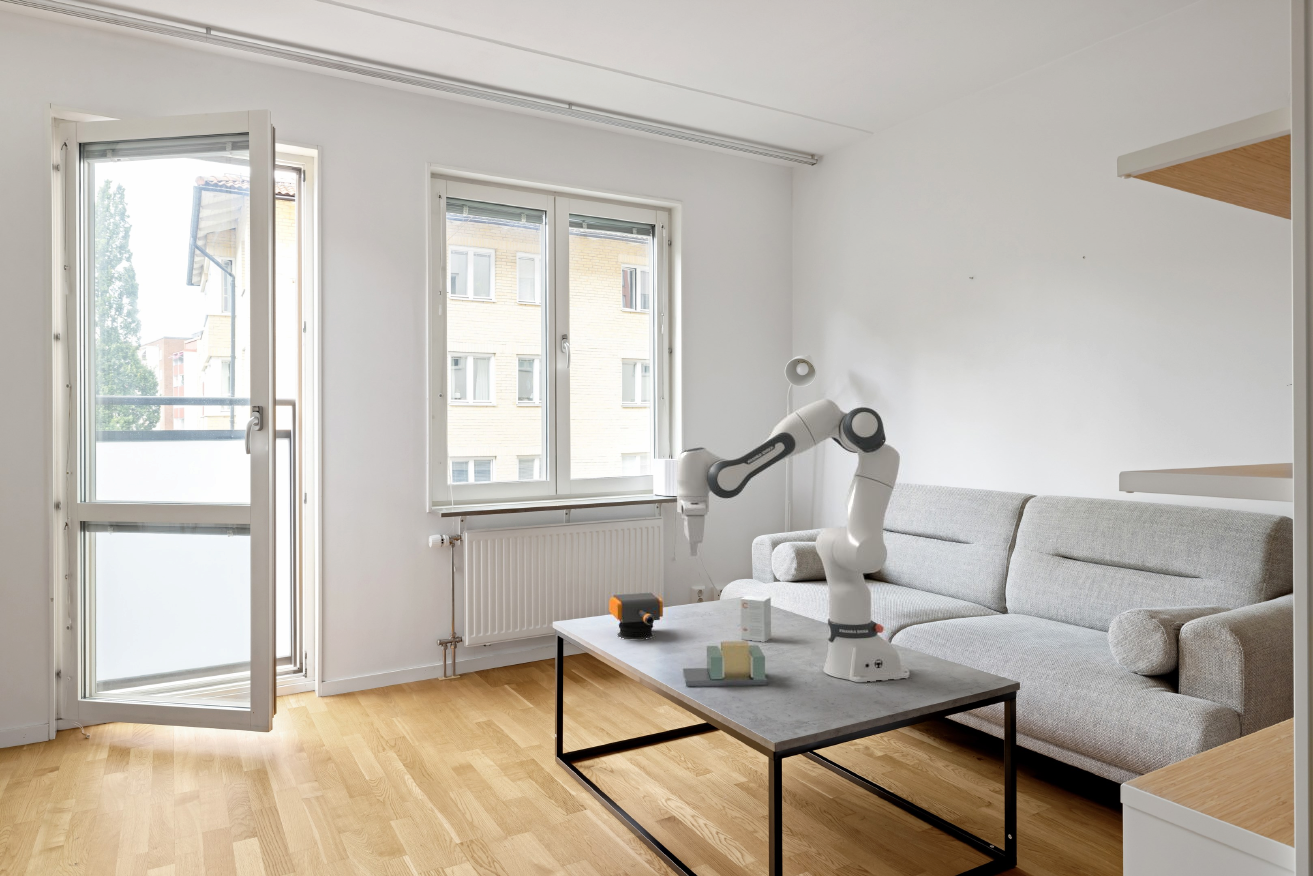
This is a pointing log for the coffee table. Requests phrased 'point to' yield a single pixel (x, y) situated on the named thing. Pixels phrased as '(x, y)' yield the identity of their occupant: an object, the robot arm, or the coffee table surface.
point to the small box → (756, 618)
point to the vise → (756, 676)
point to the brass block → (736, 658)
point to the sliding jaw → (715, 662)
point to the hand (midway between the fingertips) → (693, 555)
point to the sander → (636, 614)
